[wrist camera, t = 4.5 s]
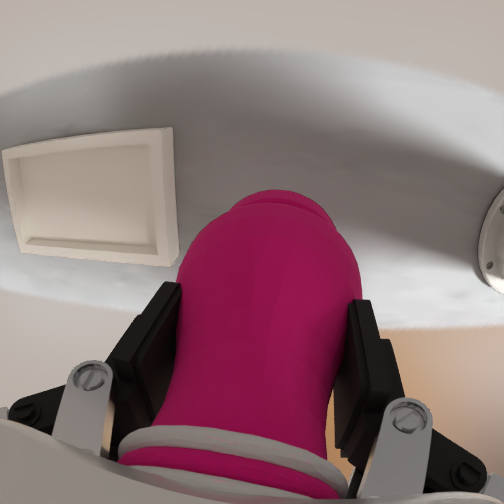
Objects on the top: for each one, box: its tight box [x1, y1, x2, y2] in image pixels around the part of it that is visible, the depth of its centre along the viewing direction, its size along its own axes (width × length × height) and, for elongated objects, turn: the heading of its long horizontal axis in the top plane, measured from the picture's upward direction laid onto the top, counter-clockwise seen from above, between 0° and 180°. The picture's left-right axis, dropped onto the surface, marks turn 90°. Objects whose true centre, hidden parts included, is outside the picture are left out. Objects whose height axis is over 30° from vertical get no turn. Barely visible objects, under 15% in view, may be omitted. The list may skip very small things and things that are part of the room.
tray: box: [2, 127, 180, 267], centre depth 25 cm, size 18×11×2 cm, turn 89°
